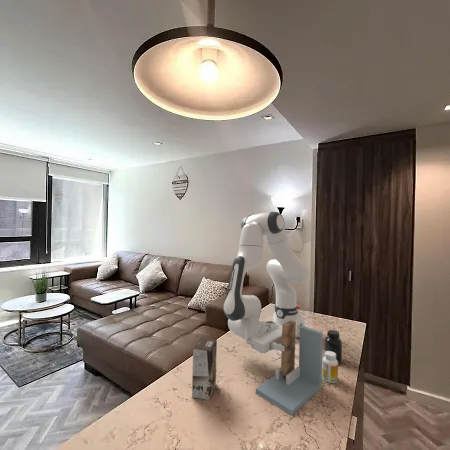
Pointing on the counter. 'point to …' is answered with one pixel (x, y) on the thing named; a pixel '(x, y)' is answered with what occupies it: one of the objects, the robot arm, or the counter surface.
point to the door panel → (288, 347)
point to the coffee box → (204, 368)
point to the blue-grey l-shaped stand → (297, 375)
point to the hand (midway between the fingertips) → (290, 345)
